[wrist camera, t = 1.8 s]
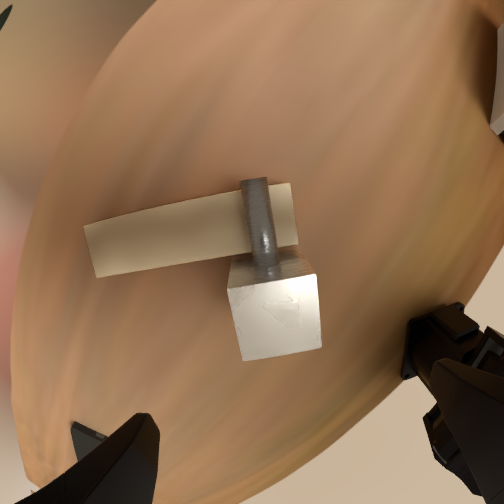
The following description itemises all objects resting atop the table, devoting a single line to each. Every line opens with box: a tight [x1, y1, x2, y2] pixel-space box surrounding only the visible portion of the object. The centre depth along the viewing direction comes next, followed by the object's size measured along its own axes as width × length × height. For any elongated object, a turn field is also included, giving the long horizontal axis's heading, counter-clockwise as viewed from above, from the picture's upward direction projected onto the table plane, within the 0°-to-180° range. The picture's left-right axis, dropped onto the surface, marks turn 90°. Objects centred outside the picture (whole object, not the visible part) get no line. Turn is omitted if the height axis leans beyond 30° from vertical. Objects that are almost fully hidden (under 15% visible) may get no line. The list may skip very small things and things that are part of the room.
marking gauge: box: [227, 177, 322, 361], centre depth 15 cm, size 8×4×6 cm, turn 10°
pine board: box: [83, 183, 299, 278], centre depth 17 cm, size 4×13×2 cm, turn 99°
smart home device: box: [71, 422, 108, 461], centre depth 25 cm, size 8×2×20 cm
